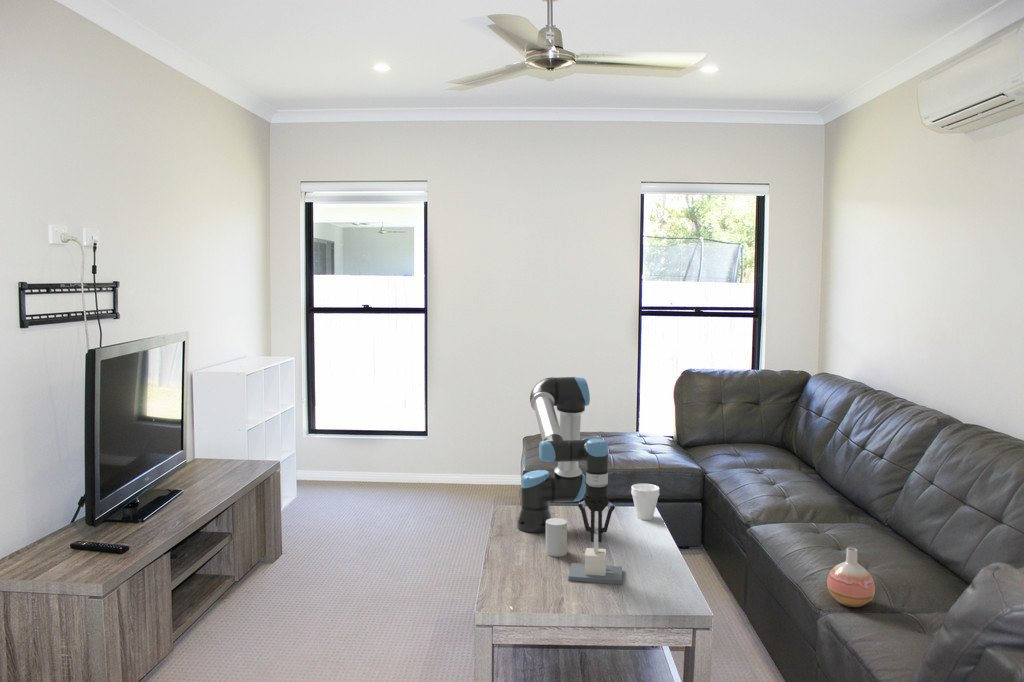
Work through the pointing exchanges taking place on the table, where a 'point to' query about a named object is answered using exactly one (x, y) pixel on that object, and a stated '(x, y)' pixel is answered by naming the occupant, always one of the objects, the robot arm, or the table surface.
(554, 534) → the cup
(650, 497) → the cup
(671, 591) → the table surface
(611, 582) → the shaft plate
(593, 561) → the cream cube
